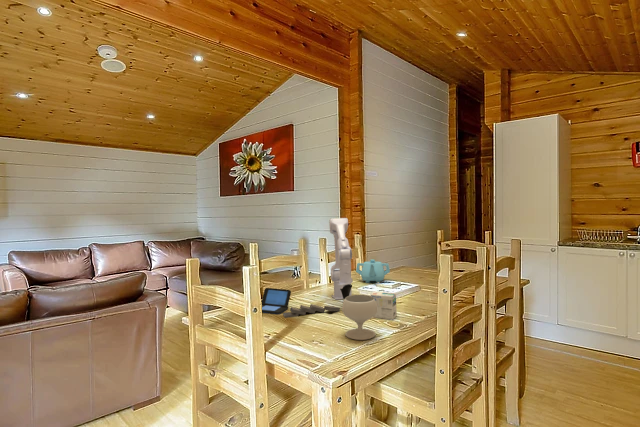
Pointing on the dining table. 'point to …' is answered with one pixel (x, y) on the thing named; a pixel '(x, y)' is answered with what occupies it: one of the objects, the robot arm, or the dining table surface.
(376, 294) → the light bulb box
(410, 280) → the dining table surface
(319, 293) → the dining table surface
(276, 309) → the handheld game console
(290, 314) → the domino
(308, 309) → the domino
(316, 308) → the domino
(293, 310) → the domino
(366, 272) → the teapot
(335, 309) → the domino
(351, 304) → the chalice
